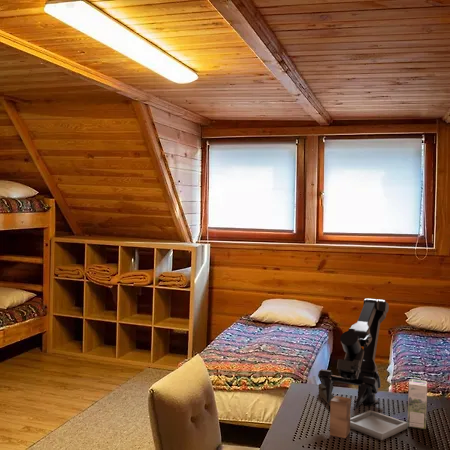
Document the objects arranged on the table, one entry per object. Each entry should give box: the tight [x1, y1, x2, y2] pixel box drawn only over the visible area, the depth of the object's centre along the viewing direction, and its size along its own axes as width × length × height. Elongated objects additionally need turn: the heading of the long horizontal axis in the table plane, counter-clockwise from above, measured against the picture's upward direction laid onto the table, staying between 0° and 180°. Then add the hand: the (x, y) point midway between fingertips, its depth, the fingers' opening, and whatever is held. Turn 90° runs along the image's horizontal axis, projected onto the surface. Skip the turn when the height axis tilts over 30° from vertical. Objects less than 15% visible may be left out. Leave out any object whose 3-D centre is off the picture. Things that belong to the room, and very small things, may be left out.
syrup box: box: [407, 378, 428, 430], centre depth 188 cm, size 6×6×14 cm
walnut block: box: [329, 395, 352, 439], centre depth 180 cm, size 5×5×11 cm
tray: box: [350, 409, 408, 441], centre depth 186 cm, size 14×14×2 cm
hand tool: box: [318, 382, 336, 406], centre depth 208 cm, size 19×4×5 cm, turn 7°
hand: (341, 404), depth 181 cm, fingers open, 9 cm apart
